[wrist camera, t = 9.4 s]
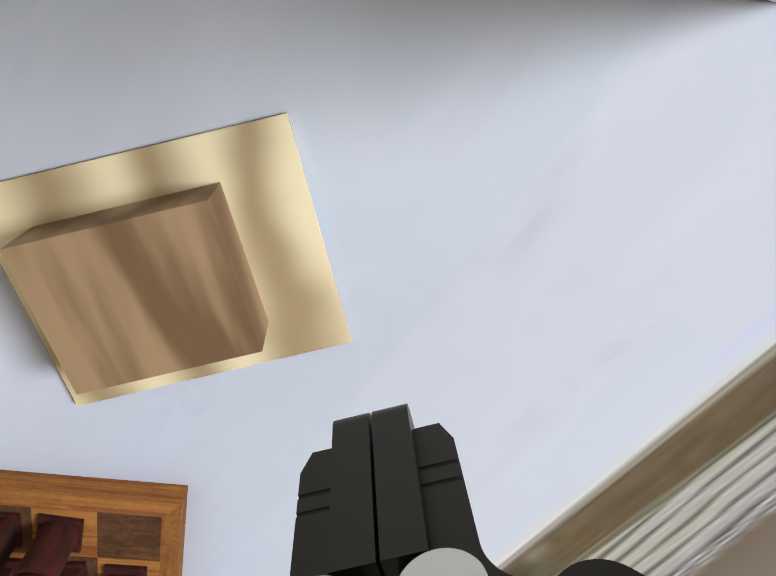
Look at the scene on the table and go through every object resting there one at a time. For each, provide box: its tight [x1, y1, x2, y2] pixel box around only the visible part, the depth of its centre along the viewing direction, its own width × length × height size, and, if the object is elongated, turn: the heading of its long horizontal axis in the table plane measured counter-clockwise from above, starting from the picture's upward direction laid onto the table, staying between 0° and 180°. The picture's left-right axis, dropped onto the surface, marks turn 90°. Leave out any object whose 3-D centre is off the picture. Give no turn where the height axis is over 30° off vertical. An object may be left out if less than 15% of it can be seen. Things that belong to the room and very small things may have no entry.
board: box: [0, 113, 351, 406], centre depth 39 cm, size 20×16×1 cm
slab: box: [0, 182, 269, 395], centre depth 37 cm, size 4×10×12 cm
